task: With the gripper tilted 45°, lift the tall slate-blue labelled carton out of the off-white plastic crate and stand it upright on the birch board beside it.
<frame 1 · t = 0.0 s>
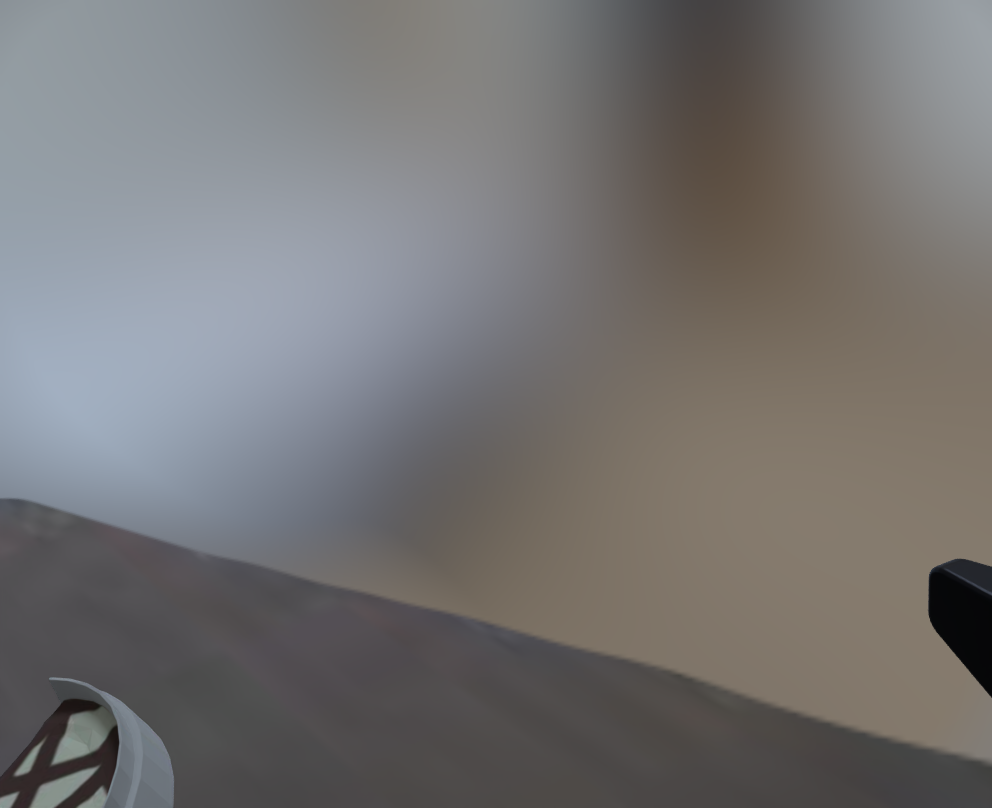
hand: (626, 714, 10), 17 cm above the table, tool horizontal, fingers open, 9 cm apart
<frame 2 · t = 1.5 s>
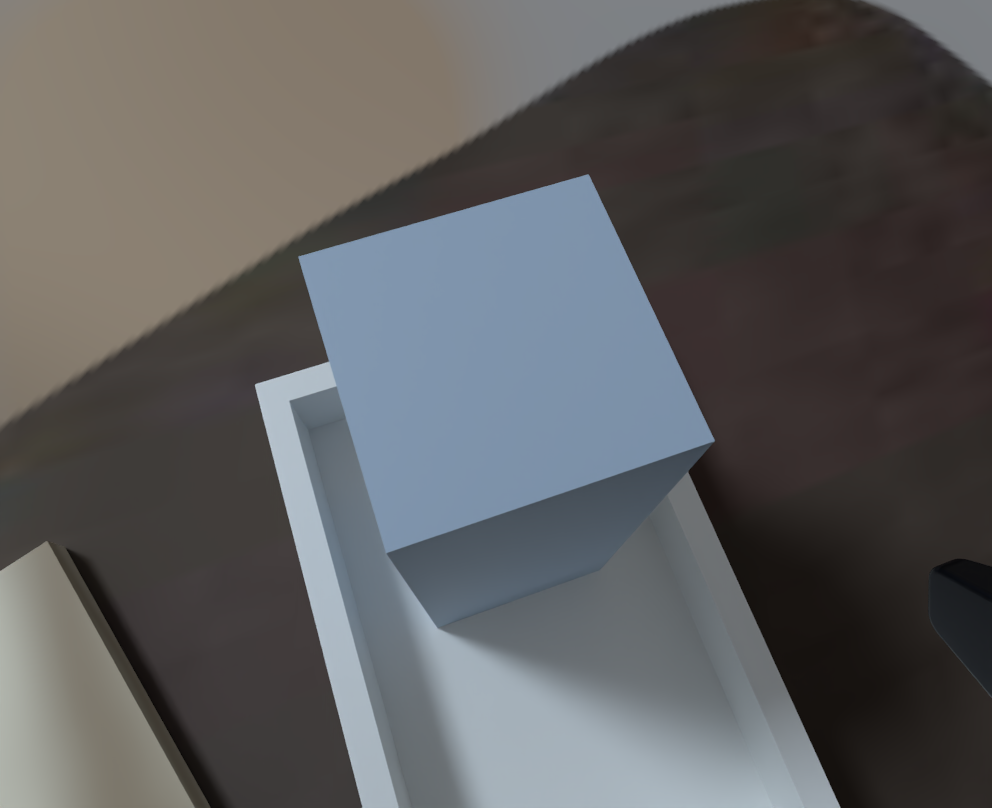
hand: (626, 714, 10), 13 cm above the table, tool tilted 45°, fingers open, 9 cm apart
crate: (525, 617, 22), on the table
carton: (491, 517, 23), resting on crate
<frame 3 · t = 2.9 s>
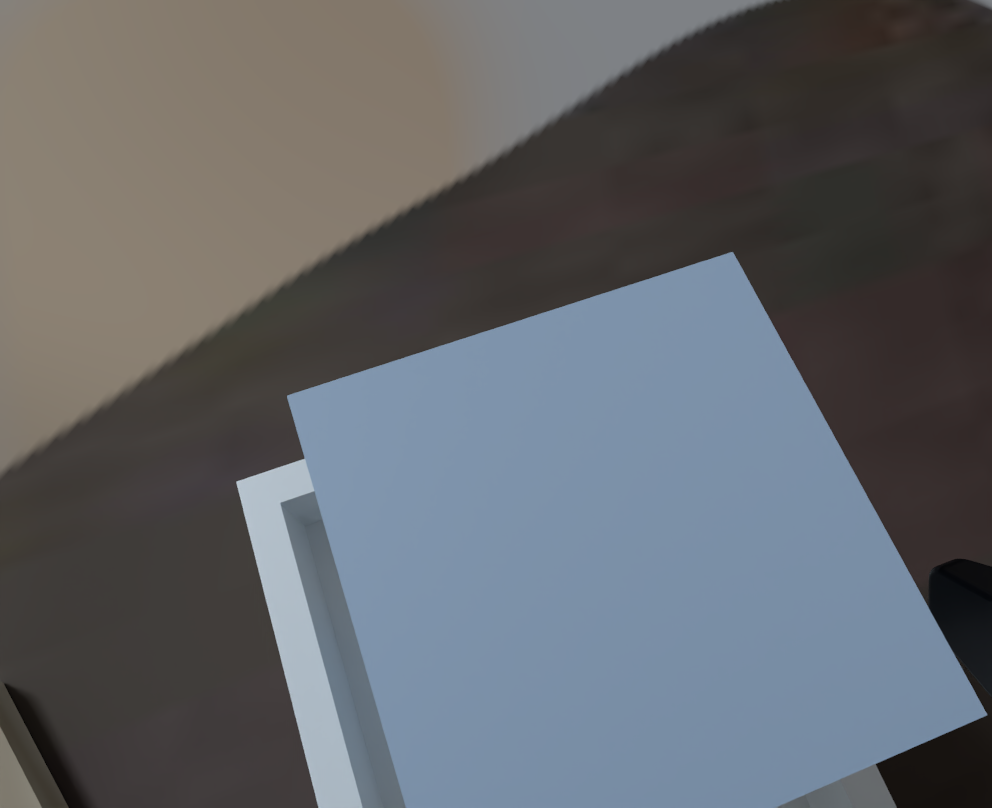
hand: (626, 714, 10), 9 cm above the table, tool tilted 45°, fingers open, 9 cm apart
crate: (579, 764, 18), on the table
carton: (534, 636, 18), resting on crate
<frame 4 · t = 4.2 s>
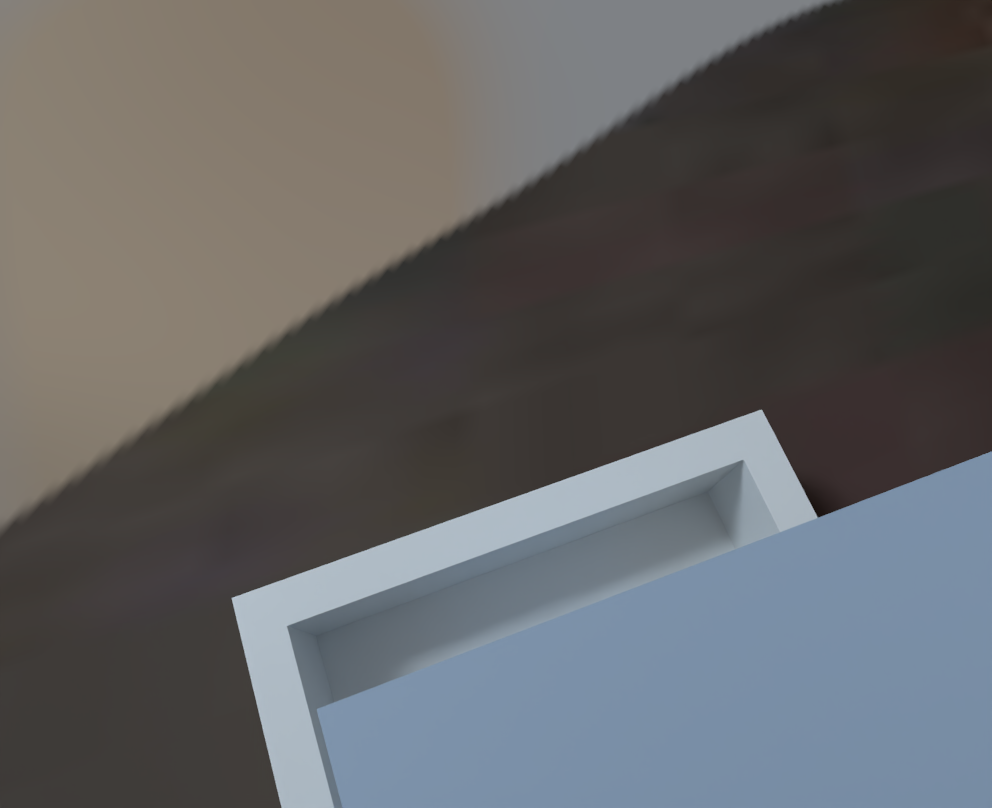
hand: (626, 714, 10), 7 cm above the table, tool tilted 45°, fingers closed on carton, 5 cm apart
carton: (600, 778, 15), resting on crate, touching gripper
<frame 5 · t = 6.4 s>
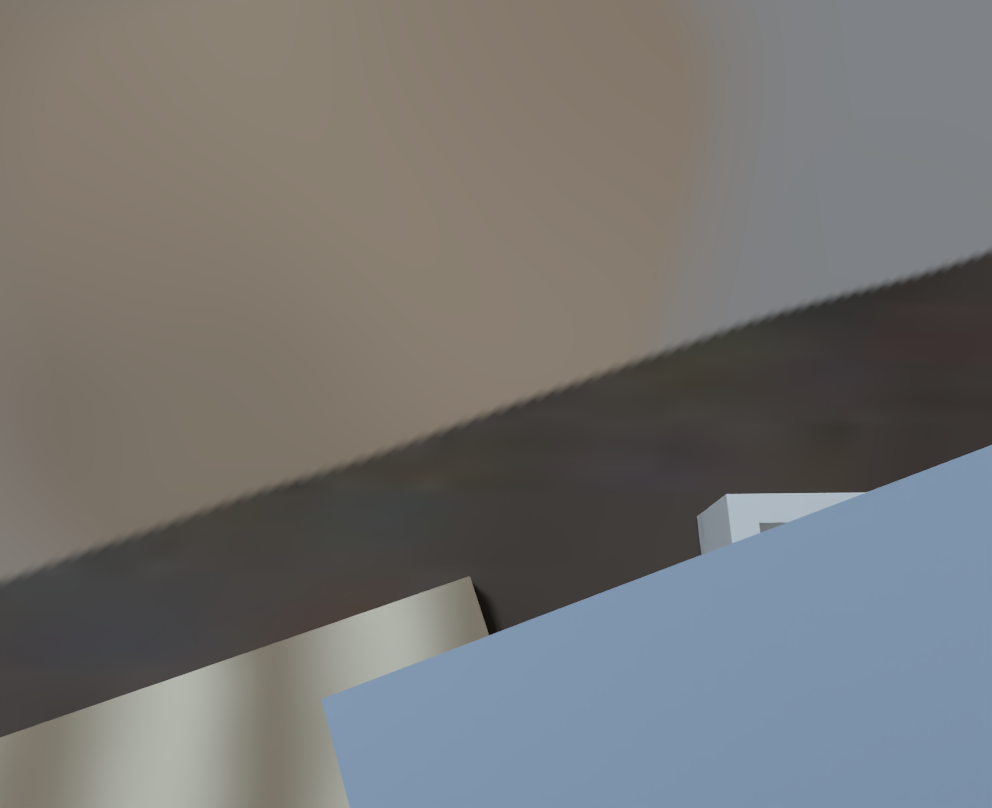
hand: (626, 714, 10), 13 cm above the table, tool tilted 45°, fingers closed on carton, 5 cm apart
carton: (601, 776, 15), point 7 cm above the table, touching gripper
when the fingers open (8 cm above the table, at t = 8.5 s): carton drops 1 cm, resting on board.
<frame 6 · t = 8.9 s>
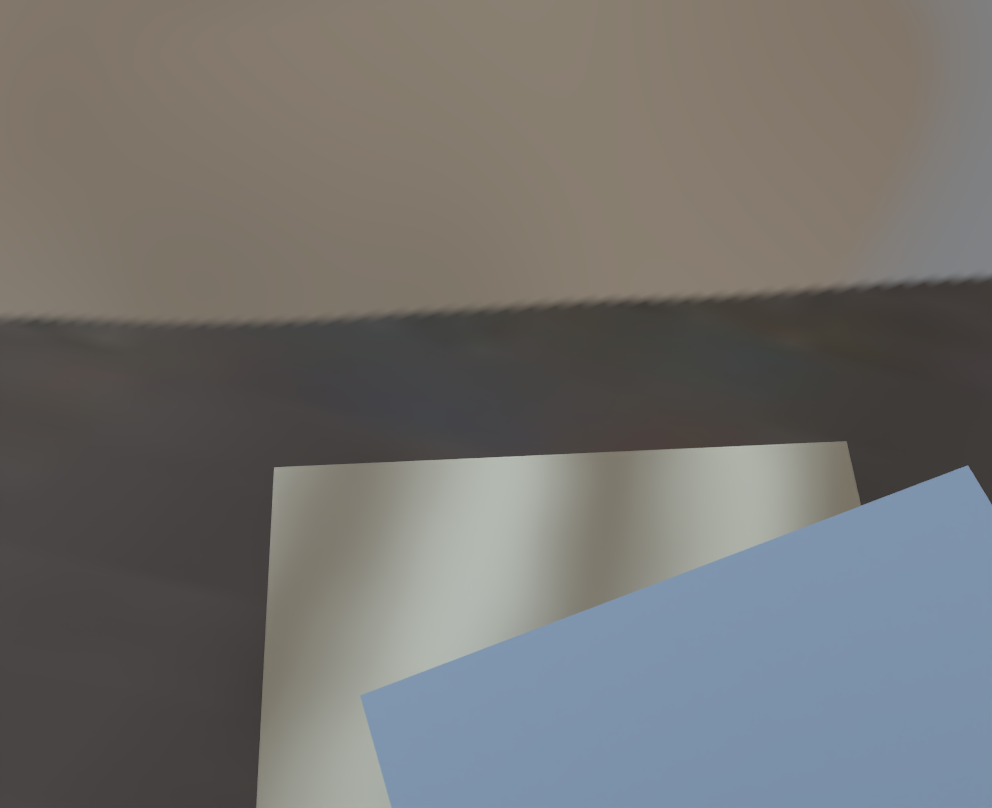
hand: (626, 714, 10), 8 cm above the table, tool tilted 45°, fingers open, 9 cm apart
carton: (592, 768, 16), point 1 cm above the table, touching board
board: (585, 767, 17), on the table
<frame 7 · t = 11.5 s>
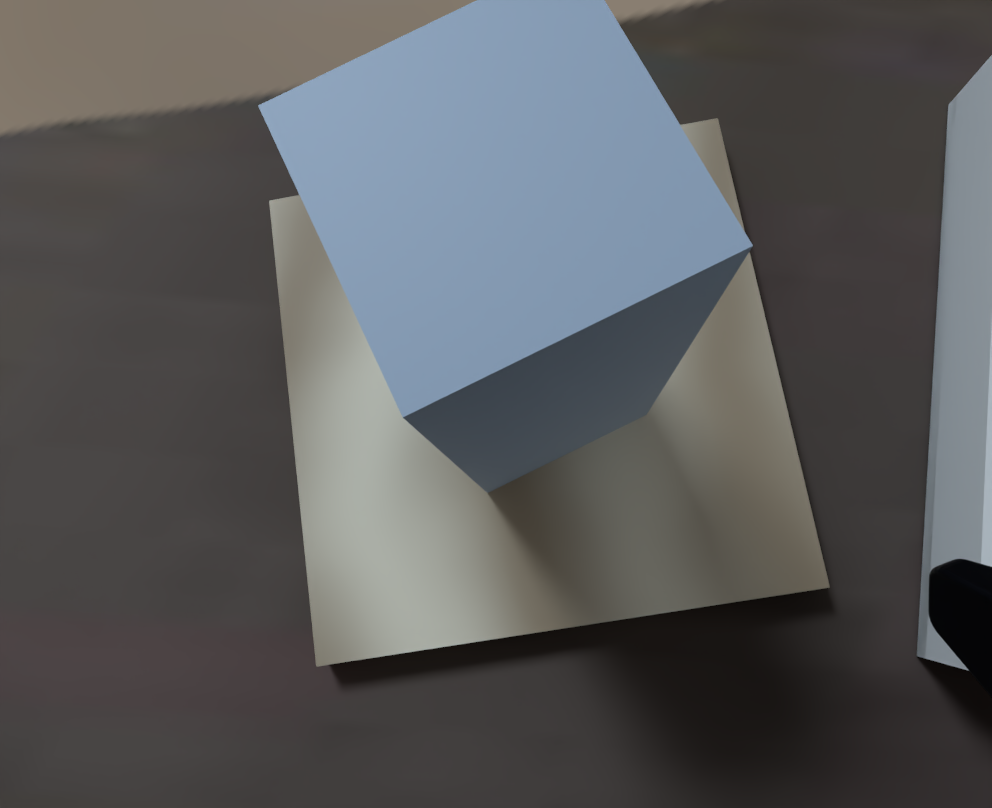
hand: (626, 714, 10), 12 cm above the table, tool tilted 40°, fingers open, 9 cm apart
carton: (527, 376, 22), point 1 cm above the table, touching board
board: (528, 386, 23), on the table
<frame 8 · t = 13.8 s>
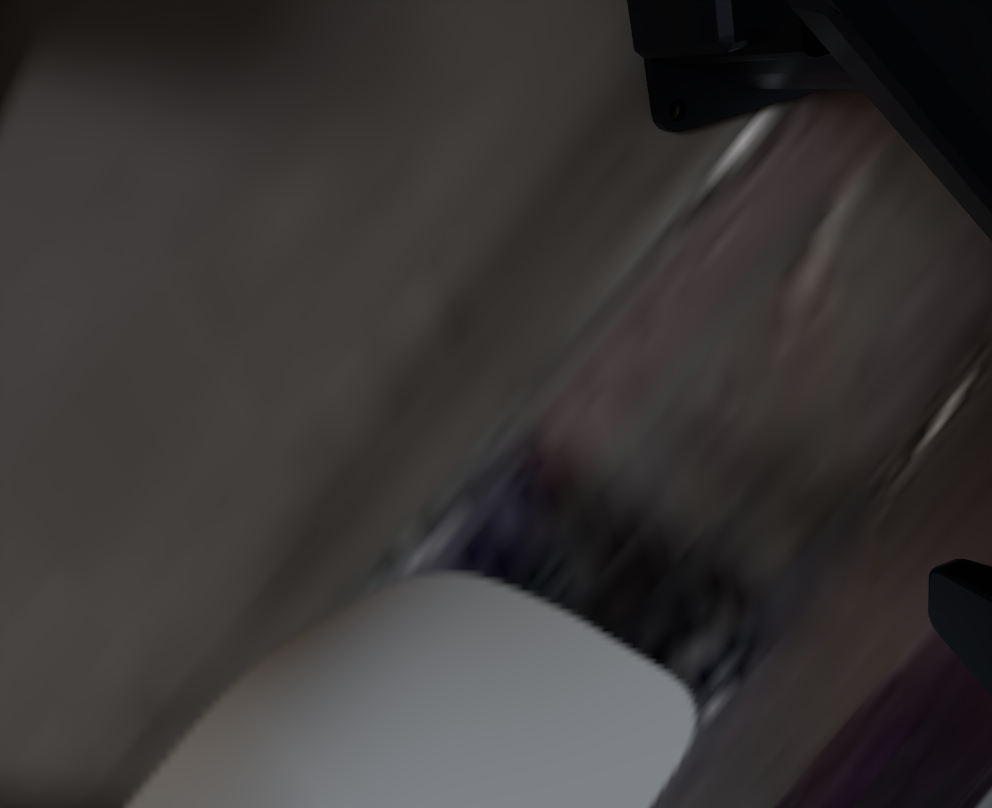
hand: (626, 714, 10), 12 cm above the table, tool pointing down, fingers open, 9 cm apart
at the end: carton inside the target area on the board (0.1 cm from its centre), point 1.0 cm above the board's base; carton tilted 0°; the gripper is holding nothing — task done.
